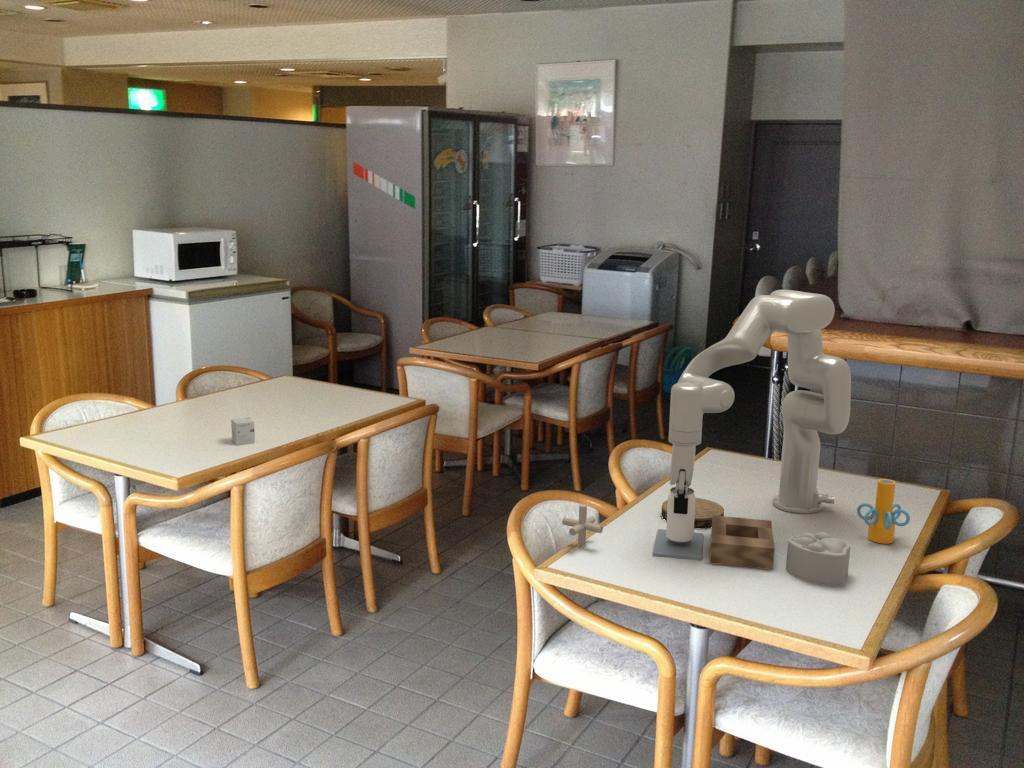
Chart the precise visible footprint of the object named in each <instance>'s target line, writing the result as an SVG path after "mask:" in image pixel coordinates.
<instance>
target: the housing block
mask: <svg viewBox="0 0 1024 768" xmlns="http://www.w3.org/2000/svg"><path fill="white" fill-rule="evenodd" d="M772 525H773V523H772V520H768V519H757V518H746V517H735V516H725V515H724V516H714V515H712V528H711V530H710V531H711V532H710V547H709V548H710V550H709V564H715V565H717V564H718V565H724V566H725V565H727V566H737V567H747V568H757V569H766V570H774V558H775V542H774V541H775V540H774V534H773V526H772Z"/></svg>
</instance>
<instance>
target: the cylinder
mask: <svg viewBox="0 0 1024 768" xmlns="http://www.w3.org/2000/svg"><path fill="white" fill-rule="evenodd" d="M895 490H896V481H895V480H892V479H889V478H879V479H878V480H877V486H876V492H875V493H876V496H875V504H874V506H873V505H872V504H870V503H868V502H863V503H860V504H858V506H857V508H856V513H857V516H858V517H859V518H860V519H862V520H864V523H865V524H866V525H867V526H868V529H867V530H868V531H867V539H868V540H869V541H871V542H874V543H876V544H883V545H887V544H892V543H893V542H894V540H895V531H896V526H897V527H904V526H907V525H908V524H909V523H910V521H911V516H910V514H909V512H908V511H907V510H904V509H902V507H901V505H900V504H899V503H894V501H895V492H896V491H895ZM863 507H867V508H869V509H868V510H867V511H866V513H865V515H863V514H862V513H861V509H862V508H863ZM894 508H897V509H895V510H894ZM901 514H904V515H905V518H906V520H905V521H904V522H898V521H897V520H898V519H899V518H900V516H901Z"/></svg>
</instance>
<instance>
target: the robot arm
mask: <svg viewBox="0 0 1024 768" xmlns="http://www.w3.org/2000/svg"><path fill="white" fill-rule="evenodd" d="M835 311H836V310H835V304H834V301H833V300H832V299H831V298H830V297H829V296H827V295H825V294H821V293H813V292H807V291H806V292H805V291H799V290H792V289H777V290H774V291H772V292H771V293H770V294H768V295H767V294H762V295H761V294H760V295H757V296H754V297H753V298H752V299H751V300H750V301H749V303H748V304H747V305H746V307H745V308H744V309H743V311H742V313H741V314H740V315H739V317H738V319H737V320H736V322H735V323H734V324H733V326H732V327H731V329H730V330H729V332H728V334H727V335H726V336H725V338H723V339H721V340H720V341H718V342H715V343H714V344H712V345H710V346H709V347H708V348H706V349H704V350H703V351H701V352H700V353H698V354H697V355H696V356H695V357H693V359H692V360H690V362H689V363H688V364H687V366H686V367H685V369H684V370H683V371H682V374H681V375H680V377H679V379H678V381H677V383H675V384H673V385H672V386H671V390H670V406H669V422H668V423H669V424H668V425H669V426H668V443H670V444H672V447H671V458H670V459H671V461H670V480H669V484H670V486H673V485H675V487H676V493H675V496H674V513H676V514H687V512H688V497H687V493H688V488H690V487H691V485H692V480H693V476H694V470H695V461H696V460H695V459H696V446H698V445H701V444H702V435H703V432H702V431H703V415H704V414H706V413H707V414H720V413H722V412H723V413H724V412H725V411H727V410H729V409H730V408H731V407H732V405H733V403H734V402H735V397H736V396H735V395H736V394H735V391H734V388H733V387H732V386H731V385H730V384H729V383H727V382H725V381H722V380H717V379H714V378H710V376H711V375H712V374H713V373H716V372H717V371H719V370H722V369H725V368H728V367H732V366H736V365H742V364H744V363H747V362H751V361H753V360H754V359H755V358H756V357H757V355H759V352H761V349H762V348H763V346H764V345H765V344H766V342H767V340H768V338H770V336H771V335H772V333H774V332H776V333H782V334H786V336H787V337H786V338H787V373H788V374H787V375H788V381H790V383H791V384H792V385H793V386H796V387H800V388H802V389H800V390H799V389H798V390H793V391H790V392H788V393H787V394H786V396H784V398H783V400H782V404H781V415H782V425H783V438H782V439H783V442H782V452H781V454H782V455H781V462H780V463H781V465H780V478H779V490H778V491H779V492H778V495H775V496H774V497H772V500H771V501H772V502H771V503H772V506H774V507H775V508H777V509H778V510H780V511H781V510H782V511H785V512H788V513H796V514H813V513H817V512H819V511H820V510H821V509H822V503H824V504H831V505H833V504H834V503H835V496H830V495H829V494H828V493H820V492H818V488H817V487H818V476H819V464H820V456H821V455H820V454H821V440H820V436H819V433H820V432H821V433H824V434H828V435H839V434H841V433H843V432H844V431H846V429H847V427H848V424H849V422H850V418H851V397H852V396H851V394H852V393H851V392H852V375H851V373H852V372H851V369H850V366H849V364H848V363H847V361H846V360H845V359H843V358H841V357H838V356H835V355H829V354H826V353H824V350H823V333H822V330H823V329H825V328H826V327H827V326H829V325H830V324H831V322H832V321H833V318H834V317H835ZM803 389H807V390H803ZM810 390H812V391H810ZM813 391H816V392H813ZM818 392H820V393H818ZM821 392H822V393H821ZM818 432H819V433H818ZM678 487H679V489H678ZM684 488H685V489H684Z"/></svg>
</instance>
